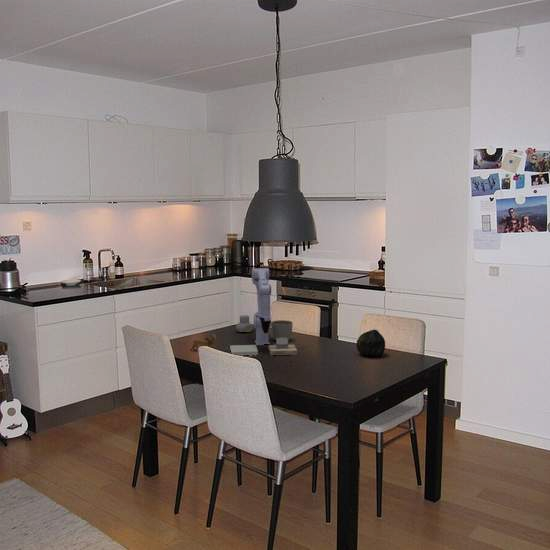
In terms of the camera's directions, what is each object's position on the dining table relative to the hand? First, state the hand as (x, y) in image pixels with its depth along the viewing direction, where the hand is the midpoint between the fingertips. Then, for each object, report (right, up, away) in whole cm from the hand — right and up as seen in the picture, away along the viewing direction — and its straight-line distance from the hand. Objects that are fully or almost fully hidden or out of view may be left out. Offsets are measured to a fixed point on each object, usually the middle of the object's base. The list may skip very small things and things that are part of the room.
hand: (265, 331), depth 331 cm
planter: (+9, -8, +23) cm, 26 cm away
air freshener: (-14, -5, +45) cm, 48 cm away
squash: (+56, -12, -8) cm, 58 cm away
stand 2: (+10, -11, -3) cm, 15 cm away
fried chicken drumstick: (-33, -11, +1) cm, 35 cm away
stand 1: (-11, -11, -4) cm, 16 cm away
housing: (+9, -8, -3) cm, 13 cm away
